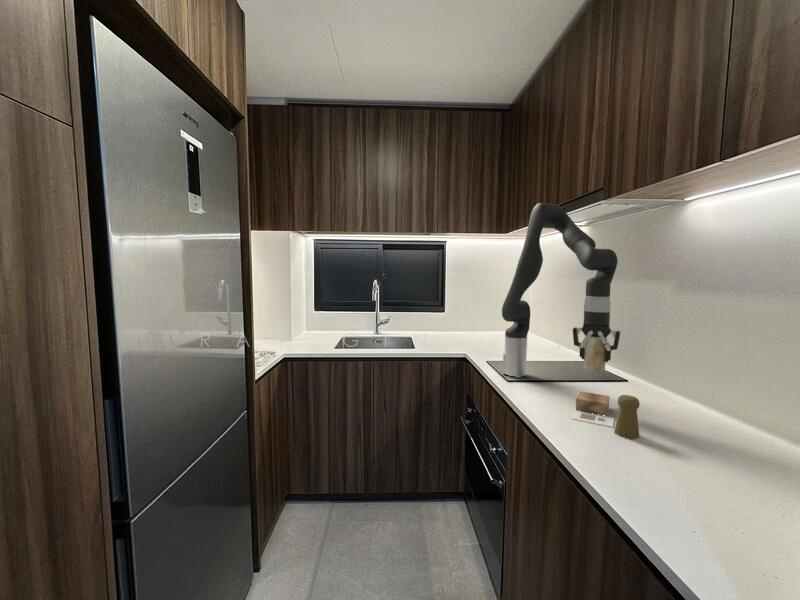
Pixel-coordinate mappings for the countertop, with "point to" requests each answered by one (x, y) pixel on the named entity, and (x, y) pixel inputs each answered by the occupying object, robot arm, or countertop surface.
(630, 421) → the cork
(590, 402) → the base brick
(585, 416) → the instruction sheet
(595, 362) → the box
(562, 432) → the countertop surface
